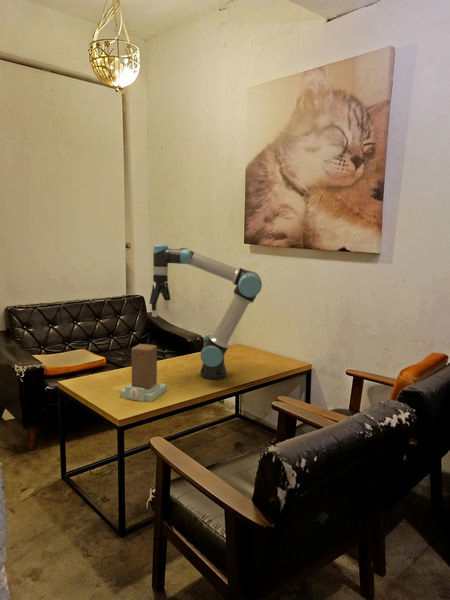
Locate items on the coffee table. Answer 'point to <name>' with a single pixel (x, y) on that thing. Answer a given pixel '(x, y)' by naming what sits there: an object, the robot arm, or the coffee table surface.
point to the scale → (143, 392)
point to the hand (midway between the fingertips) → (160, 314)
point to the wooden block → (144, 366)
